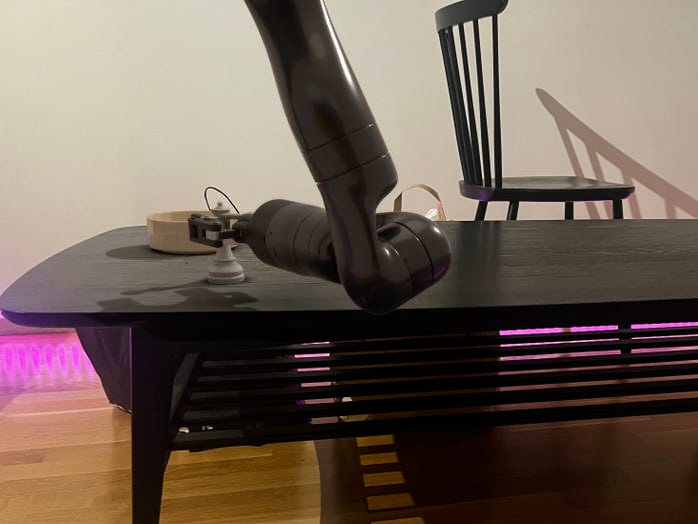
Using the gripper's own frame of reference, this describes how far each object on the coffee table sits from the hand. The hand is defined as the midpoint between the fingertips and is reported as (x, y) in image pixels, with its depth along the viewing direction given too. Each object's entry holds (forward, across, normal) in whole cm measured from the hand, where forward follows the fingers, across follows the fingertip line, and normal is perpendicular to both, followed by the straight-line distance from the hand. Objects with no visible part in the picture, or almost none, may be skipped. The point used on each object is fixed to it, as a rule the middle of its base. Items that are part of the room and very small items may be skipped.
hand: (227, 220), depth 86 cm
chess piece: (+2, 0, +8) cm, 8 cm away
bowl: (+26, -7, +8) cm, 28 cm away
